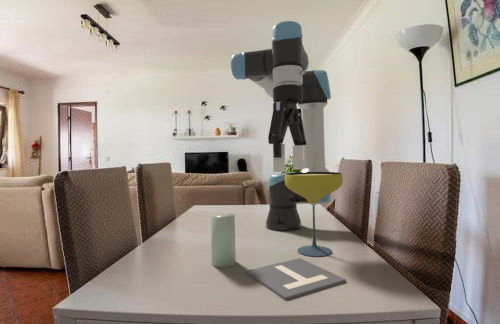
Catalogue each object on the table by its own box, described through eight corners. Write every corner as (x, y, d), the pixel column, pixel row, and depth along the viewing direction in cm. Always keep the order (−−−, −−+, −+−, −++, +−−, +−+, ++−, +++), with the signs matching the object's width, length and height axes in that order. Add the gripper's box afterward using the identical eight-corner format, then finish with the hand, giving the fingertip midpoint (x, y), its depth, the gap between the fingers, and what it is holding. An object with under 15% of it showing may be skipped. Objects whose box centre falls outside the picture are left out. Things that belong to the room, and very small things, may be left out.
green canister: (229, 257, 94) (228, 212, 93) (239, 264, 88) (238, 216, 87) (208, 261, 90) (206, 214, 90) (217, 269, 84) (216, 219, 84)
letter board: (299, 260, 90) (299, 258, 90) (345, 281, 74) (345, 279, 74) (245, 272, 81) (245, 270, 81) (285, 300, 65) (285, 297, 65)
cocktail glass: (344, 245, 103) (343, 171, 103) (342, 263, 86) (341, 175, 86) (292, 241, 109) (290, 171, 109) (280, 258, 92) (278, 175, 92)
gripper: (283, 72, 64) (285, 173, 64) (316, 93, 86) (317, 168, 87) (251, 77, 68) (254, 173, 68) (291, 96, 90) (292, 168, 90)
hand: (289, 170), depth 77 cm, fingers open, 13 cm apart
